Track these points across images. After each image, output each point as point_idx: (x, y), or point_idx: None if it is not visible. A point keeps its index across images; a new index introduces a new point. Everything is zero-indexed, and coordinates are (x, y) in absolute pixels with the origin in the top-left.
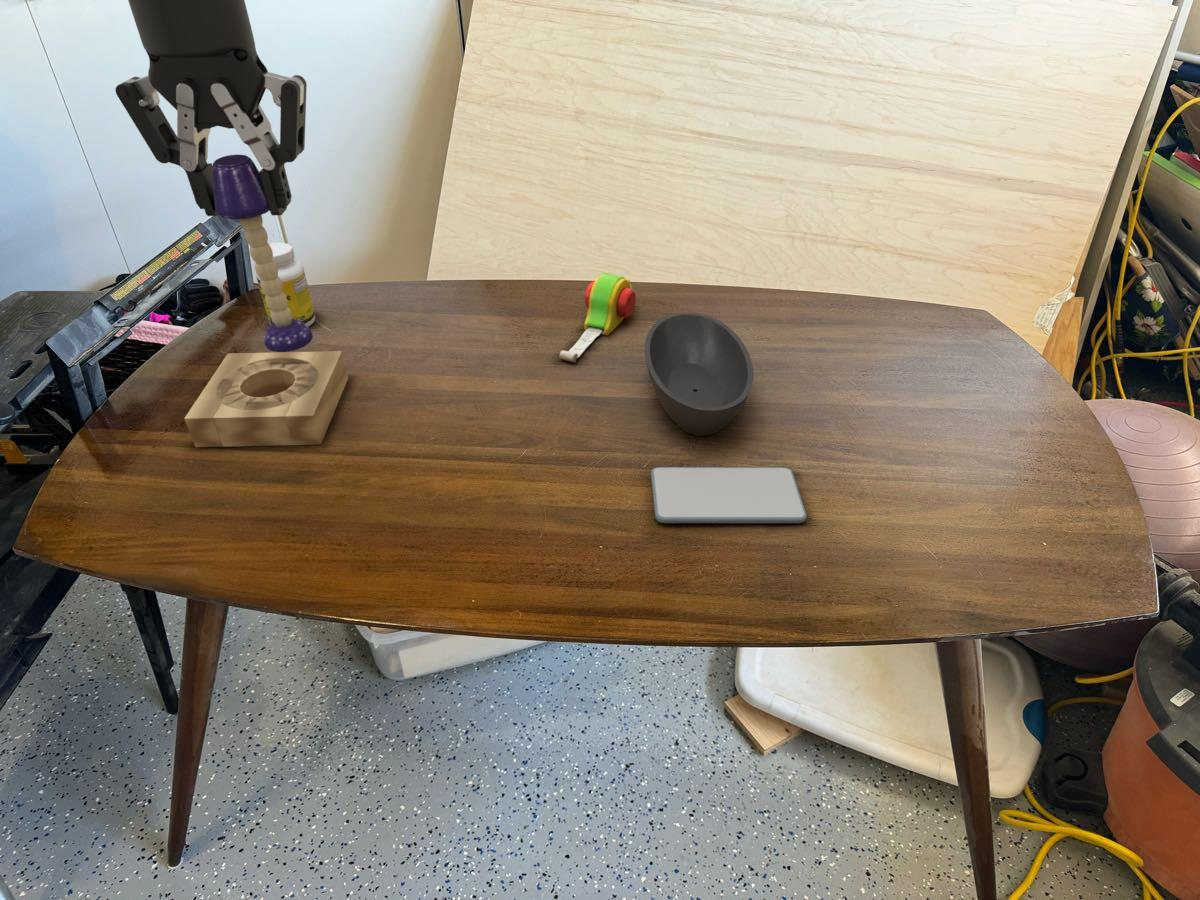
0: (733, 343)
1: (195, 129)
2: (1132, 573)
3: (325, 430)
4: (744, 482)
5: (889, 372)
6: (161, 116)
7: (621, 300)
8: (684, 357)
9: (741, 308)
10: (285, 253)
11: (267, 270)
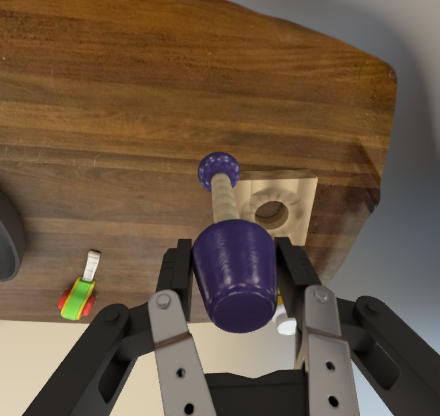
0: None
1: (306, 364)
2: None
3: None
4: None
5: None
6: (398, 407)
7: (63, 298)
8: (9, 249)
9: (3, 302)
10: (280, 324)
11: (219, 198)
